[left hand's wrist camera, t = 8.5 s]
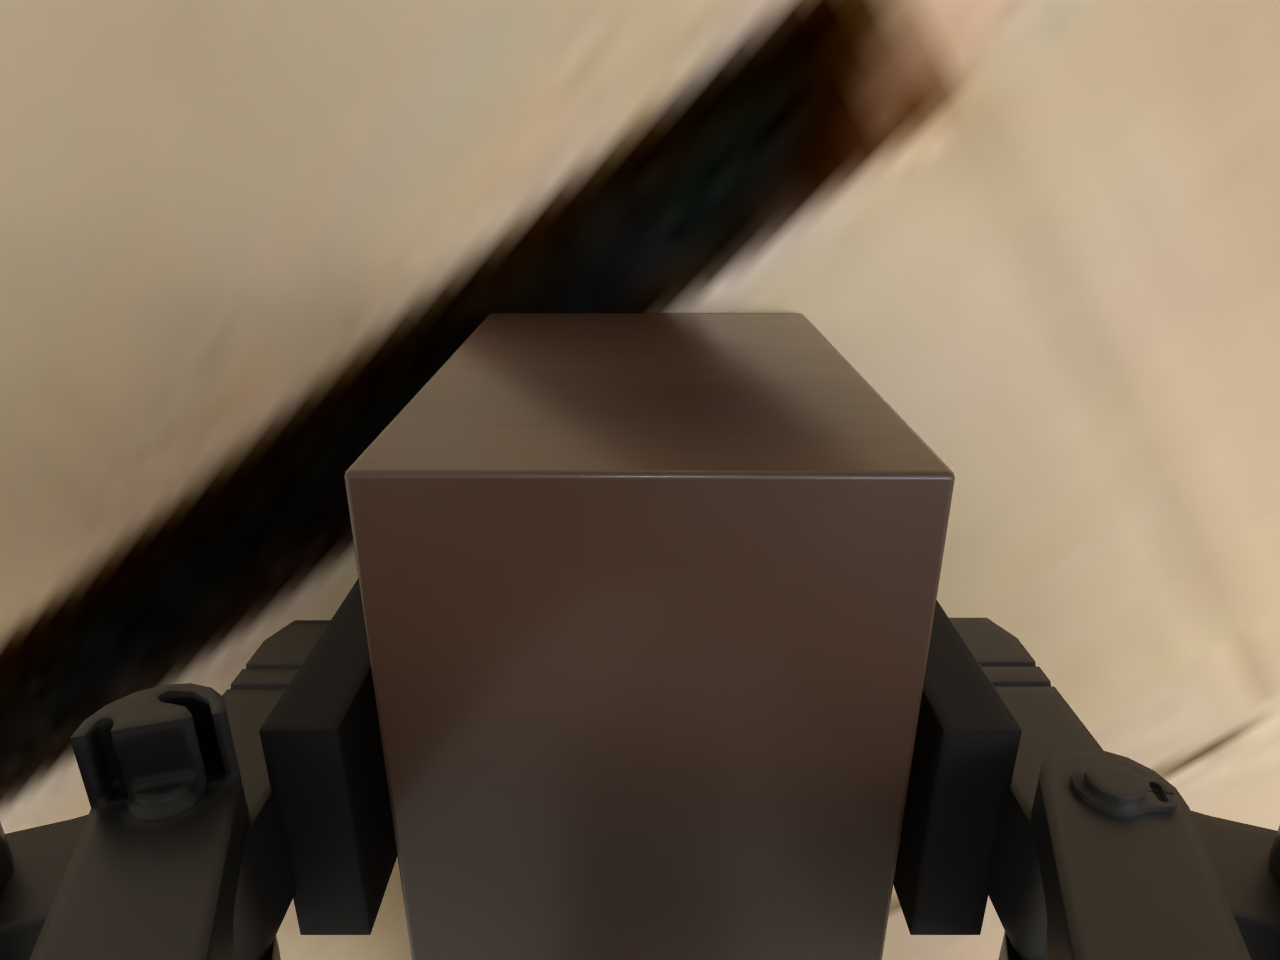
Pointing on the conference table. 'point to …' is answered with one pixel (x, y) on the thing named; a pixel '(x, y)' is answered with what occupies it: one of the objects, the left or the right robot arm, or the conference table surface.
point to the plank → (648, 639)
